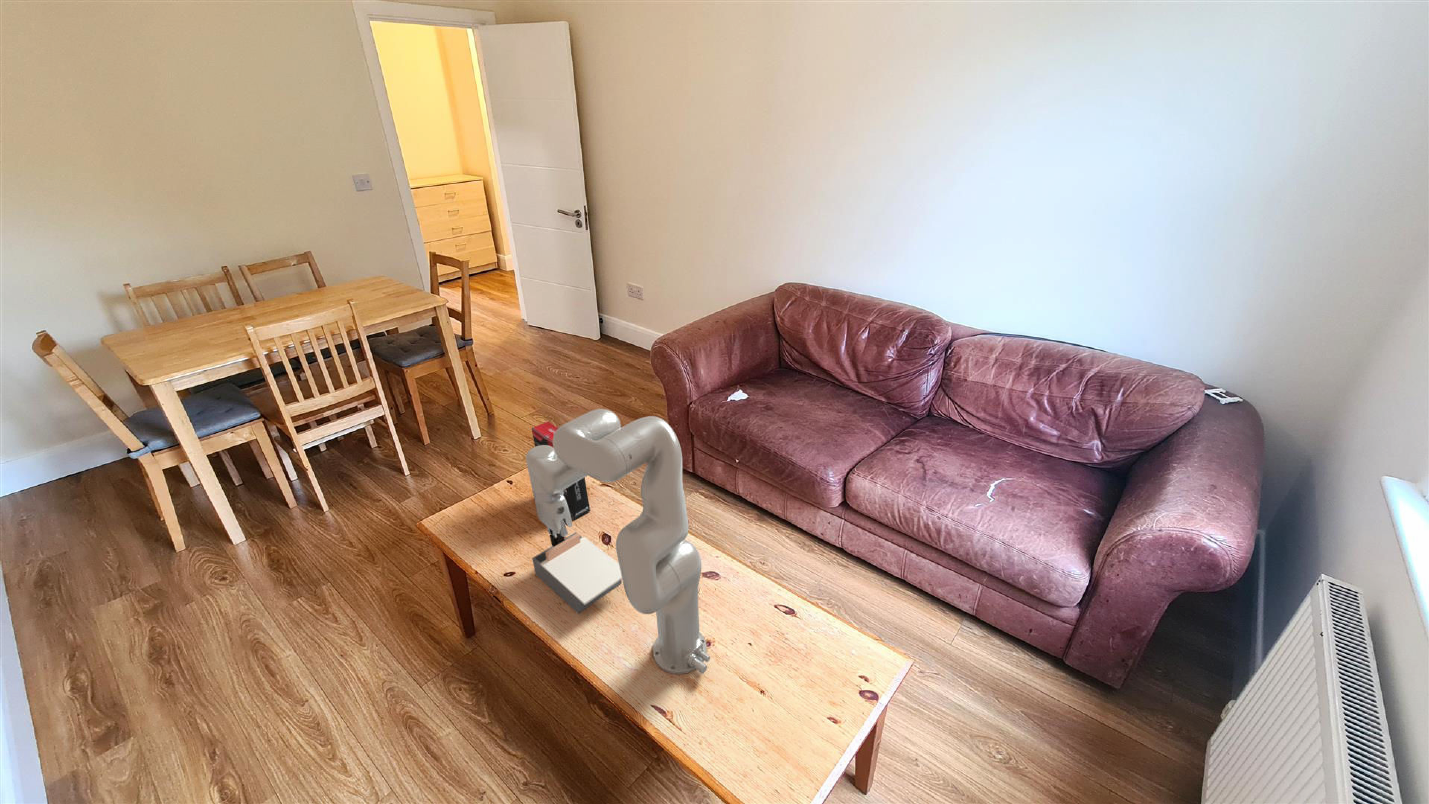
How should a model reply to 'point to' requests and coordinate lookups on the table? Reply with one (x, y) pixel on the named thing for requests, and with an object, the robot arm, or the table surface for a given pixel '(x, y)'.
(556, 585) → the box
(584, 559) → the lid
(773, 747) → the table surface
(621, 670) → the table surface
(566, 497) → the graphics card box
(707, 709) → the table surface
